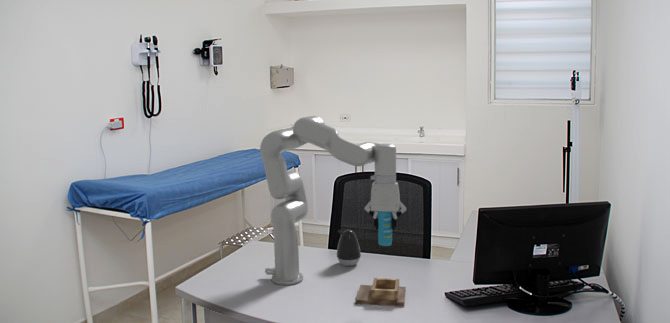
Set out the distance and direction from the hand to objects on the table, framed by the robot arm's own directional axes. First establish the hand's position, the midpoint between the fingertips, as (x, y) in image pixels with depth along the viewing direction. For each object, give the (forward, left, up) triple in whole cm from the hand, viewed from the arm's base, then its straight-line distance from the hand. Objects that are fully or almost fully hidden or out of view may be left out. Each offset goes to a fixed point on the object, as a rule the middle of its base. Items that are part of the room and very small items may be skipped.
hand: (385, 228), depth 198 cm
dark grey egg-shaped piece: (-18, +33, -26) cm, 46 cm away
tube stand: (-1, 0, -26) cm, 26 cm away
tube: (0, 0, -6) cm, 6 cm away
